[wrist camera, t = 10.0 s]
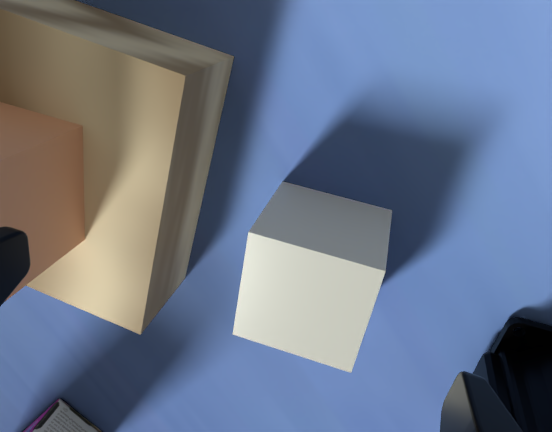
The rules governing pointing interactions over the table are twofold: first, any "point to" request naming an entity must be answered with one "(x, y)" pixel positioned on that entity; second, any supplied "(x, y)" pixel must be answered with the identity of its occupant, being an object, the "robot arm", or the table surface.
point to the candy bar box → (61, 420)
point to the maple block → (120, 145)
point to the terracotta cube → (41, 184)
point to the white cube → (313, 274)
